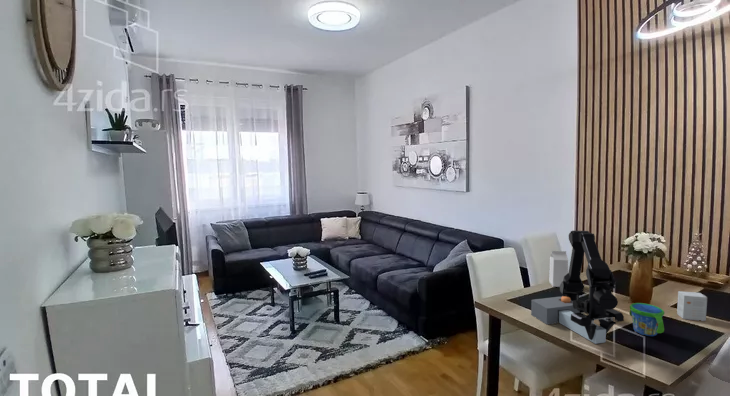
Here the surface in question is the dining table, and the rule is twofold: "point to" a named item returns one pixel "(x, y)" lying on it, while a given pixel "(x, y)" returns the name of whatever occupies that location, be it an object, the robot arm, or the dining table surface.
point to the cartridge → (581, 327)
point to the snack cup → (647, 319)
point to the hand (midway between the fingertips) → (596, 338)
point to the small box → (692, 306)
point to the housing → (550, 309)
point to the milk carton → (558, 267)
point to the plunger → (565, 299)
